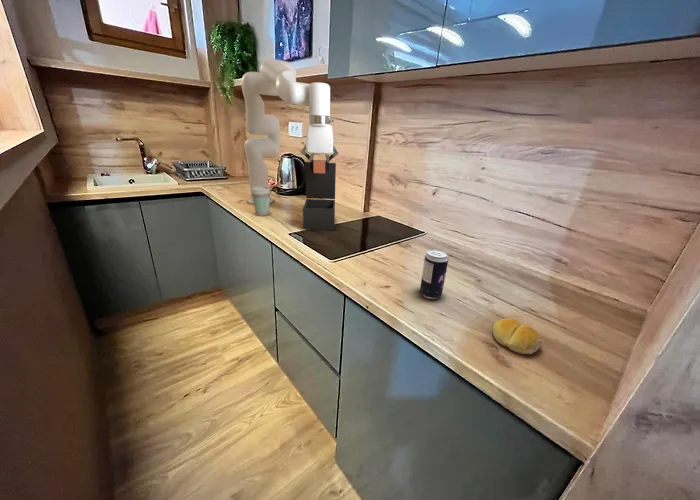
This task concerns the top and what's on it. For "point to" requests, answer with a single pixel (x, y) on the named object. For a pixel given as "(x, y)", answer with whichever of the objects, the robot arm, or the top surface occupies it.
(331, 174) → the lid
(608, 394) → the top surface
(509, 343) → the bread roll
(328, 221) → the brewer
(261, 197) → the coffee cup
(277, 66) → the robot arm
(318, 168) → the block
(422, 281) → the beverage can
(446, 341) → the top surface
